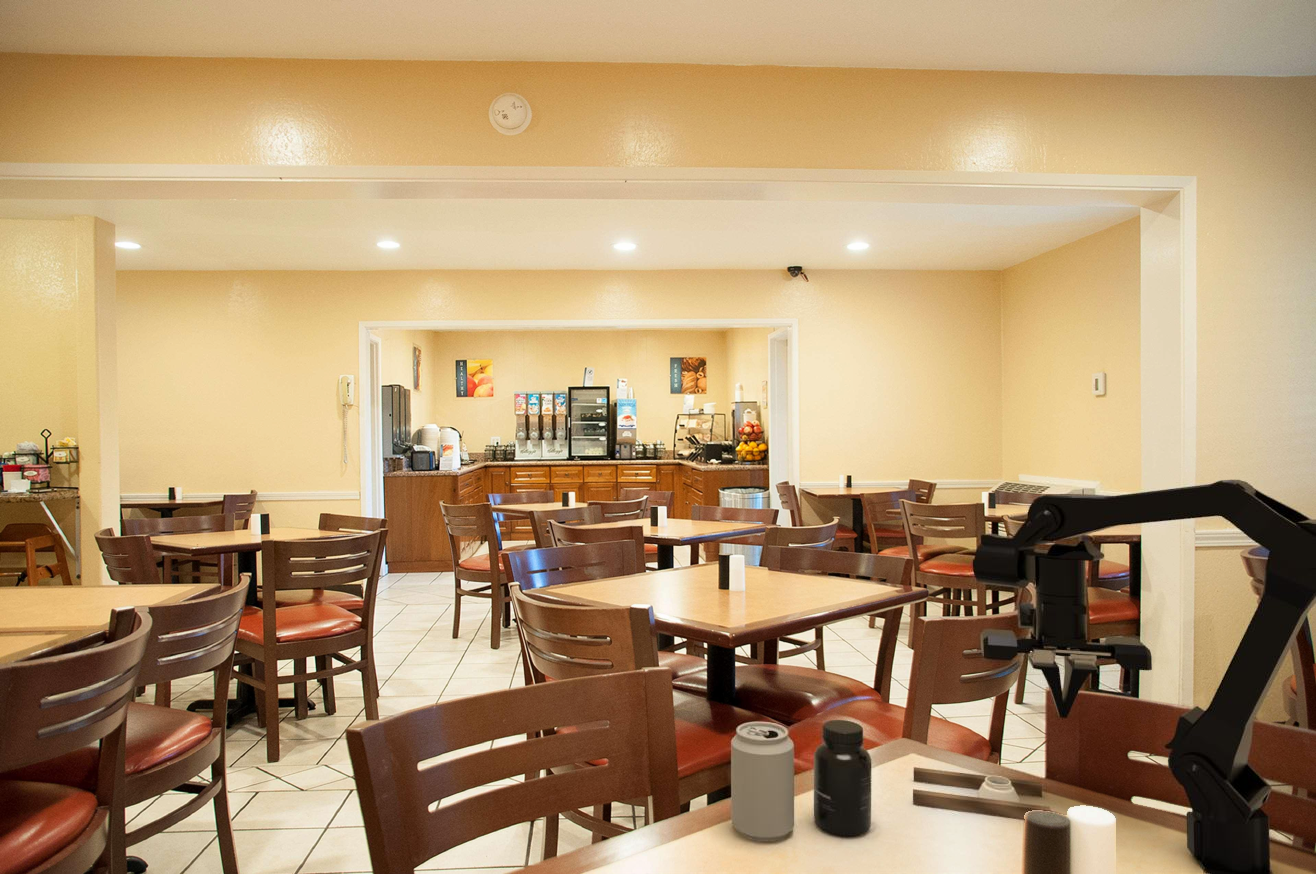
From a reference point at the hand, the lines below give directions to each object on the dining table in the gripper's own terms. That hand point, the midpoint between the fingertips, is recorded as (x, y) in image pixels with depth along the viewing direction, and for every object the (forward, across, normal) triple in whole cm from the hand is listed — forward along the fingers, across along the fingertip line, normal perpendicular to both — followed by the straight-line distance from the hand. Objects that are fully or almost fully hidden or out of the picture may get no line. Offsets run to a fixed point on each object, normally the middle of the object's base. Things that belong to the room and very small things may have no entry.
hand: (1062, 717), depth 99 cm
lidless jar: (+12, +8, 0) cm, 14 cm away
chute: (+12, +10, 0) cm, 15 cm away
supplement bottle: (+12, +26, +13) cm, 31 cm away
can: (+12, +35, +17) cm, 41 cm away
